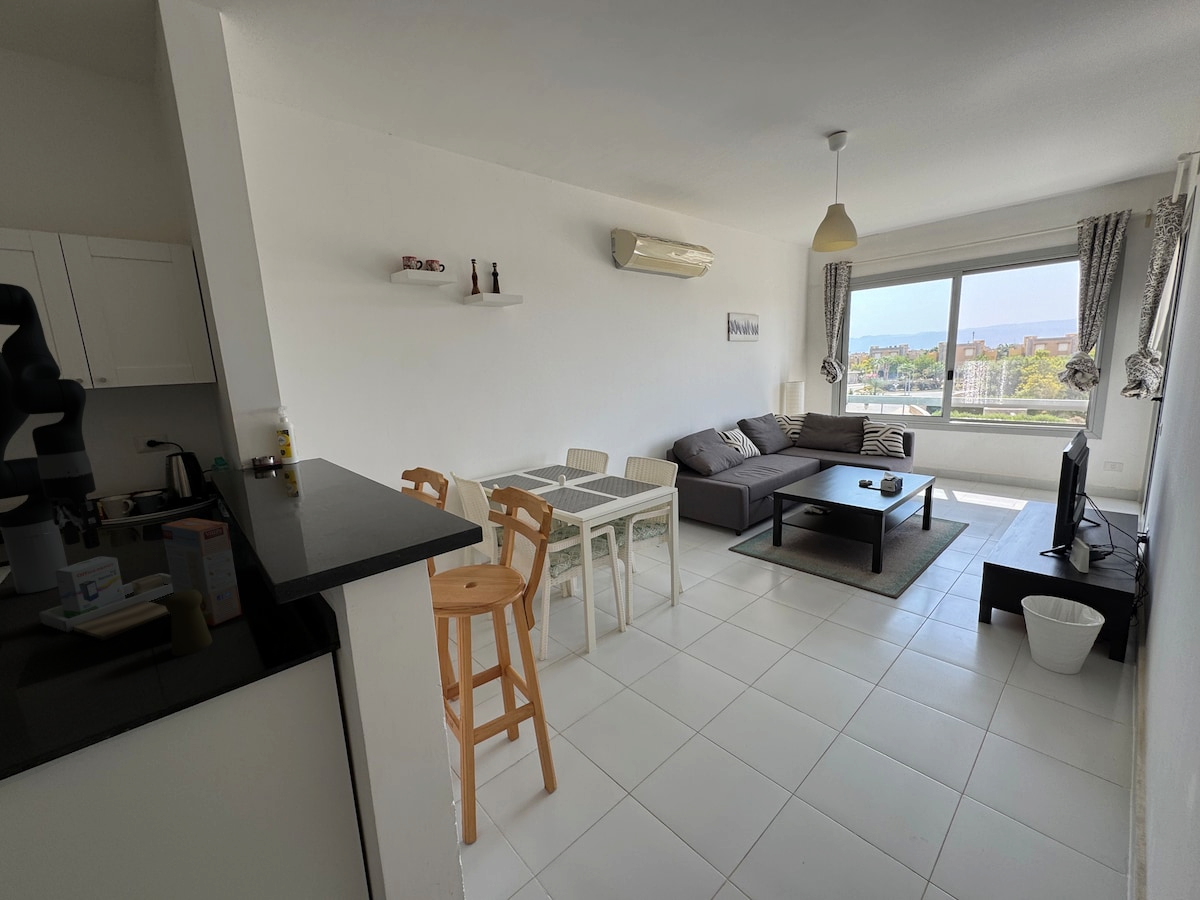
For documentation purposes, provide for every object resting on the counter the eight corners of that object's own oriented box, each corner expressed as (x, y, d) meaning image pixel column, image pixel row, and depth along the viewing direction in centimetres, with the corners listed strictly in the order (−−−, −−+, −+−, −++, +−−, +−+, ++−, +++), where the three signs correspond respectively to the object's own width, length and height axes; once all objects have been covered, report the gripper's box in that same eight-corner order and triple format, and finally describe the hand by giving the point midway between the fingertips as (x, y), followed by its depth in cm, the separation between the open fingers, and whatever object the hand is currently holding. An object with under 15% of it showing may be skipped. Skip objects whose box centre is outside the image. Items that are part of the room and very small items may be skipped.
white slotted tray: (41, 623, 104) (38, 612, 103) (162, 582, 123) (160, 572, 123) (67, 632, 99) (65, 621, 99) (189, 588, 119) (187, 578, 119)
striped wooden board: (73, 630, 100) (72, 626, 100) (145, 604, 111) (144, 600, 111) (103, 641, 95) (102, 636, 95) (175, 612, 106) (174, 608, 106)
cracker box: (244, 614, 104) (228, 521, 101) (212, 628, 99) (195, 530, 96) (208, 603, 110) (192, 515, 107) (176, 615, 105) (158, 523, 101)
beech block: (134, 597, 115) (131, 581, 115) (155, 590, 119) (152, 574, 118) (144, 599, 114) (140, 583, 113) (164, 592, 117) (161, 576, 117)
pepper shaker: (178, 659, 88) (167, 603, 86) (166, 650, 91) (155, 596, 89) (218, 643, 93) (208, 589, 91) (205, 635, 96) (195, 583, 94)
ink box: (111, 603, 112) (100, 555, 110) (128, 604, 111) (118, 556, 109) (64, 621, 104) (52, 570, 102) (82, 623, 103) (70, 571, 101)
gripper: (25, 475, 102) (42, 548, 105) (58, 478, 96) (75, 555, 99) (74, 468, 109) (89, 537, 111) (107, 471, 103) (122, 543, 106)
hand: (82, 545), depth 105 cm, fingers open, 8 cm apart
